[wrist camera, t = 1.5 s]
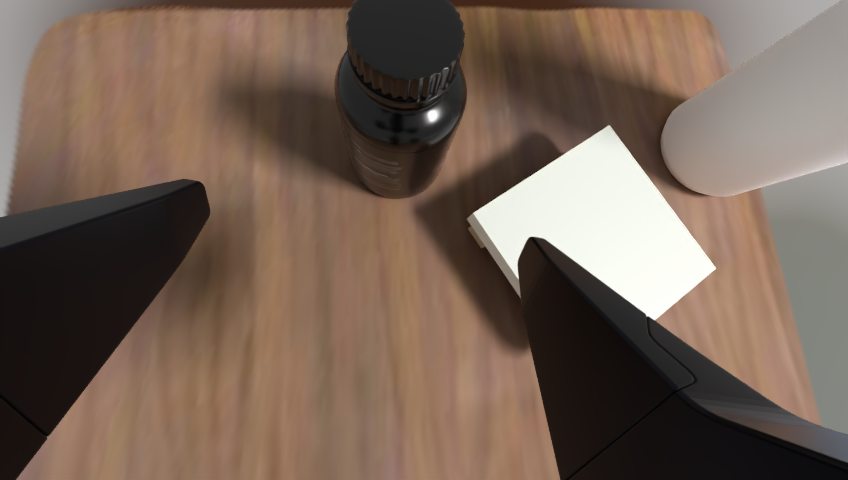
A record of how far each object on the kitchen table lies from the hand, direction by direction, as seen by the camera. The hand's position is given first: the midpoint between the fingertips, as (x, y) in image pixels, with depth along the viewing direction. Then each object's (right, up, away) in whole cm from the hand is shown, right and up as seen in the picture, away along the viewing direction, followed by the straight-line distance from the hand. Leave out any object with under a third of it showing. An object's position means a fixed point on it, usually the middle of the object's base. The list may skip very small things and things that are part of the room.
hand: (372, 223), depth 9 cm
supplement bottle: (-1, +6, +16) cm, 17 cm away
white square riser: (+12, -1, +16) cm, 20 cm away
